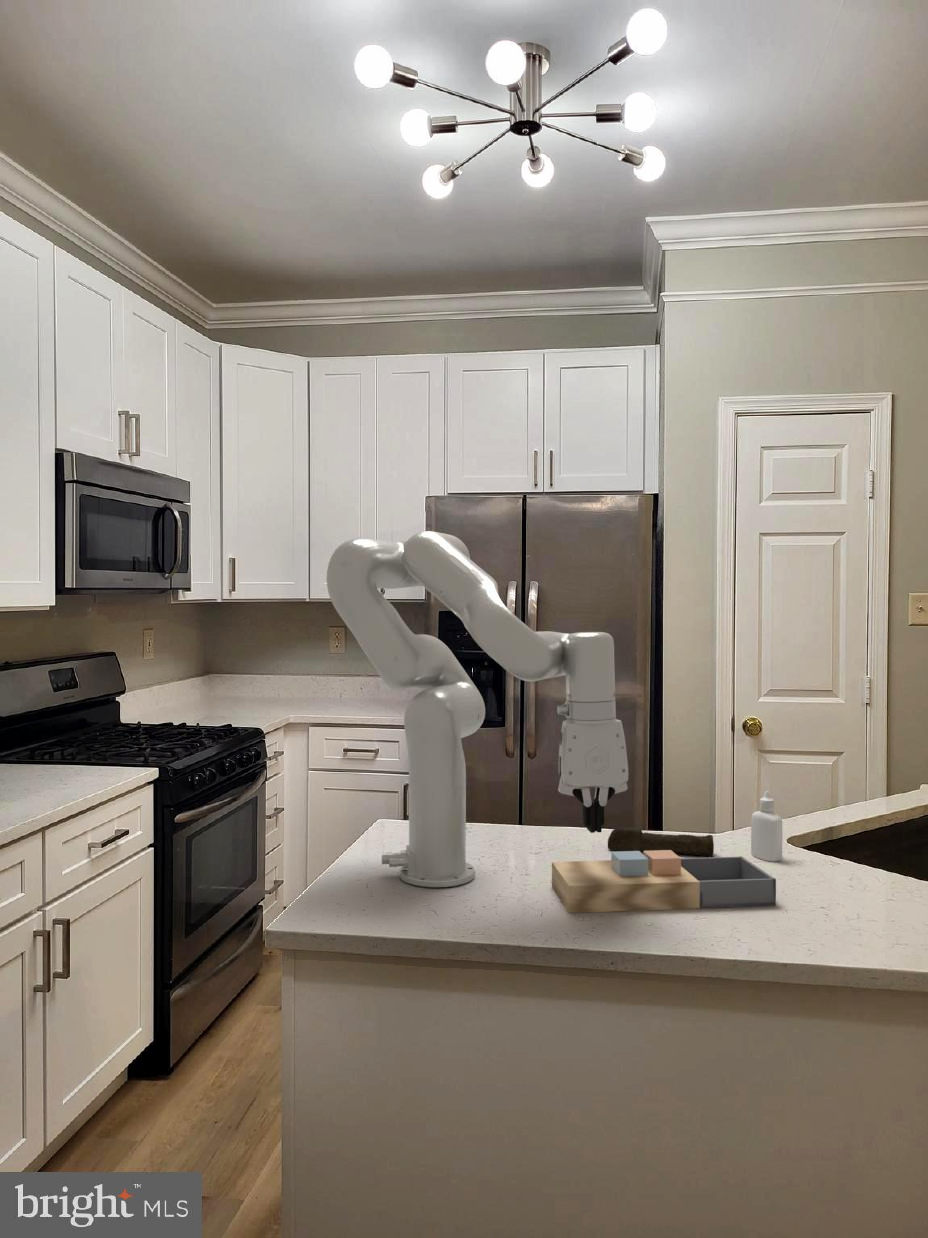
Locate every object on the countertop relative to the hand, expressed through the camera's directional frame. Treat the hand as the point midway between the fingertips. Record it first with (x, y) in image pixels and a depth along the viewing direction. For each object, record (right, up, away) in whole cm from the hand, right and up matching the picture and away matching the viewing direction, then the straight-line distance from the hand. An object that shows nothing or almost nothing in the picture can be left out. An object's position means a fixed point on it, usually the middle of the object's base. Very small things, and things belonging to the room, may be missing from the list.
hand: (593, 830), depth 134 cm
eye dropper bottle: (+35, -11, +22) cm, 43 cm away
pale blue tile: (+6, -7, +1) cm, 9 cm away
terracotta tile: (+11, -7, +2) cm, 13 cm away
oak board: (+5, -11, +1) cm, 12 cm away
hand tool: (+16, -11, +25) cm, 32 cm away
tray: (+21, -11, +3) cm, 23 cm away
